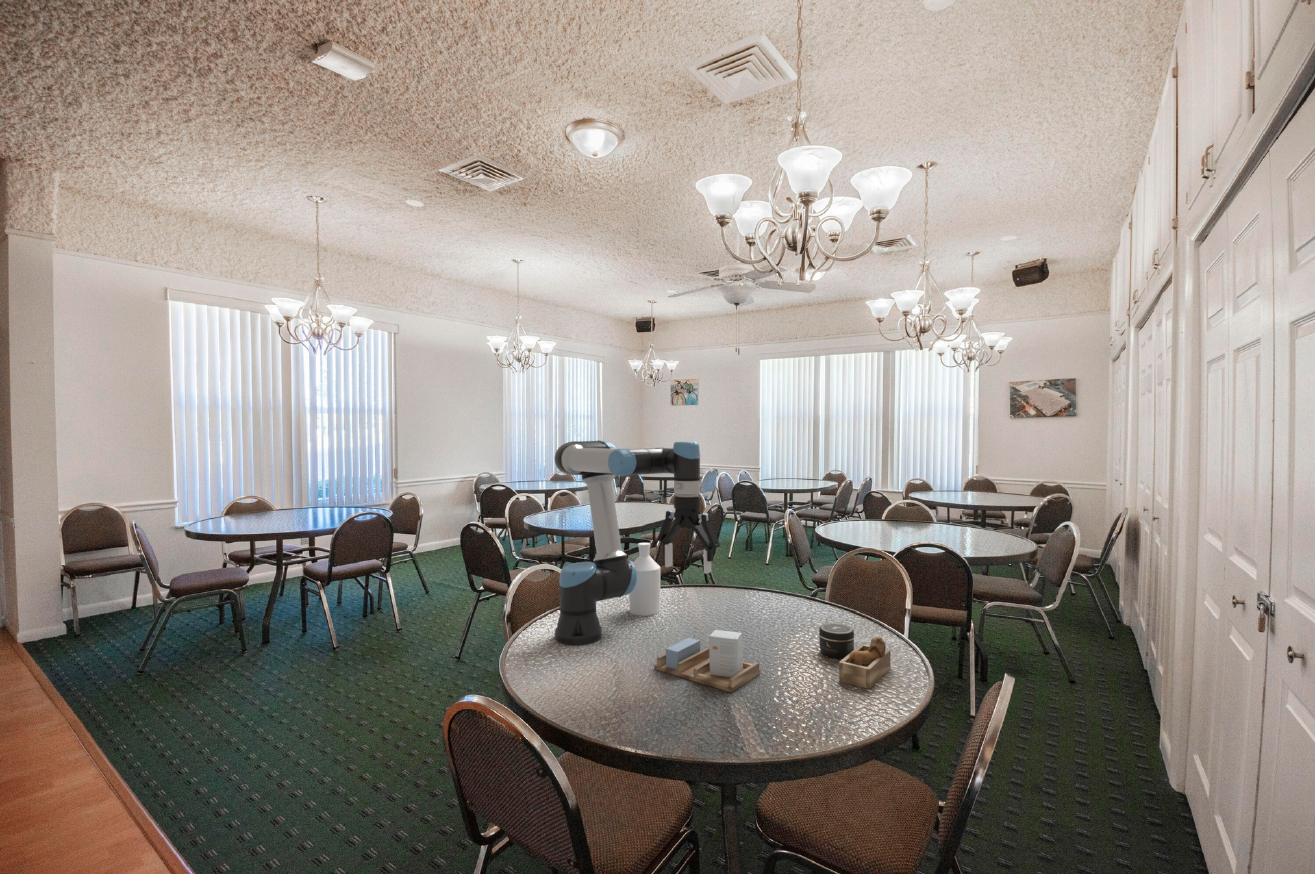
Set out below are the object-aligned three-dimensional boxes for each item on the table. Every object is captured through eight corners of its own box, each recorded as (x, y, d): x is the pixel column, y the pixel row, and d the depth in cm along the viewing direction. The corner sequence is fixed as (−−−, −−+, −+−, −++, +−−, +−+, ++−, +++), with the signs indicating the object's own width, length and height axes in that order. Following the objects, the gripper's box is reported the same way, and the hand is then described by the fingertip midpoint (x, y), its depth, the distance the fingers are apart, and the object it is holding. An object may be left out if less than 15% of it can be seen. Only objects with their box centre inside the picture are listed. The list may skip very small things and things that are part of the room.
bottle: (622, 610, 220) (621, 543, 220) (646, 604, 228) (645, 539, 228) (643, 617, 211) (642, 548, 211) (667, 610, 219) (666, 543, 219)
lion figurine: (874, 665, 165) (874, 633, 165) (891, 671, 161) (891, 638, 161) (838, 677, 157) (838, 643, 157) (855, 684, 153) (854, 649, 153)
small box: (743, 671, 160) (743, 632, 160) (738, 679, 155) (738, 639, 155) (714, 667, 163) (714, 629, 163) (709, 674, 158) (708, 635, 158)
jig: (654, 668, 165) (654, 656, 165) (685, 653, 176) (685, 641, 176) (731, 692, 149) (731, 678, 149) (760, 673, 161) (760, 660, 161)
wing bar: (666, 666, 164) (665, 648, 164) (688, 654, 172) (688, 637, 172) (677, 670, 161) (677, 651, 161) (700, 657, 170) (700, 640, 170)
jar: (813, 654, 174) (812, 628, 174) (828, 645, 182) (828, 620, 182) (845, 663, 168) (845, 636, 168) (860, 653, 175) (859, 627, 175)
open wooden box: (839, 681, 155) (839, 662, 155) (861, 661, 169) (861, 643, 169) (869, 688, 150) (869, 669, 150) (890, 667, 164) (890, 649, 164)
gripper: (645, 494, 174) (645, 566, 174) (716, 499, 158) (717, 578, 158) (660, 492, 180) (661, 561, 180) (731, 496, 164) (732, 572, 164)
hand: (687, 569), depth 169 cm, fingers open, 13 cm apart
